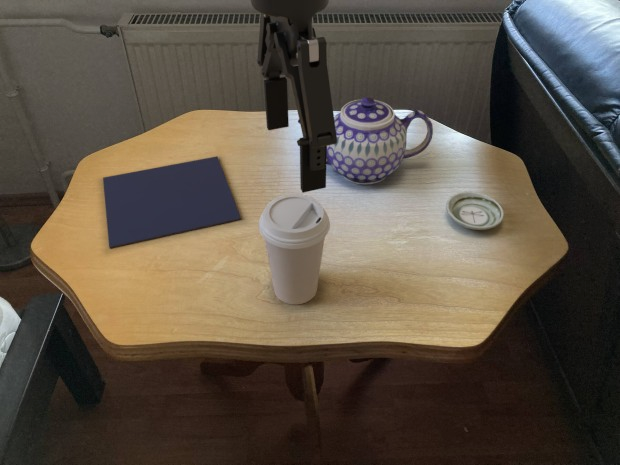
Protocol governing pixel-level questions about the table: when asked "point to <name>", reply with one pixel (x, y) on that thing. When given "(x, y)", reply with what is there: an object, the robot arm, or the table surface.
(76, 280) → the table surface
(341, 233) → the table surface
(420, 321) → the table surface
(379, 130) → the teapot
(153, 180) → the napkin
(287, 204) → the coffee cup
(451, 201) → the saucer
